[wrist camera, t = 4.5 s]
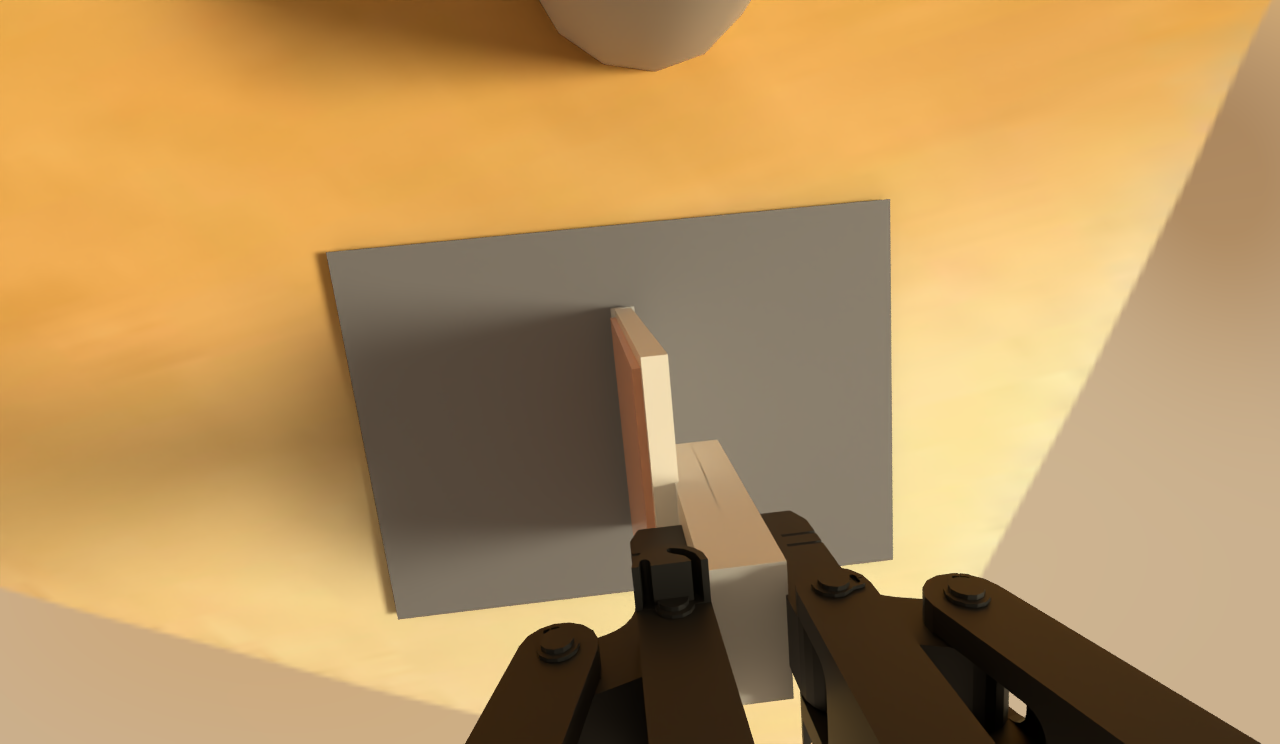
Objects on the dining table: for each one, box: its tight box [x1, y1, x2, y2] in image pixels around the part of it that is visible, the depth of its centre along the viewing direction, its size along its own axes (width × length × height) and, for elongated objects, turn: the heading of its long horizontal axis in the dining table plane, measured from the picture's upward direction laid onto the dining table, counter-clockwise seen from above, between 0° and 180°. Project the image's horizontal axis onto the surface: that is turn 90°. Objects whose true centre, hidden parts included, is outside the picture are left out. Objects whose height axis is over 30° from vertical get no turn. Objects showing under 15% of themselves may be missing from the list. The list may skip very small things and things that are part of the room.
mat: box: [326, 199, 893, 619], centre depth 25 cm, size 15×21×1 cm
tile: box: [610, 306, 679, 536], centre depth 20 cm, size 10×9×1 cm
